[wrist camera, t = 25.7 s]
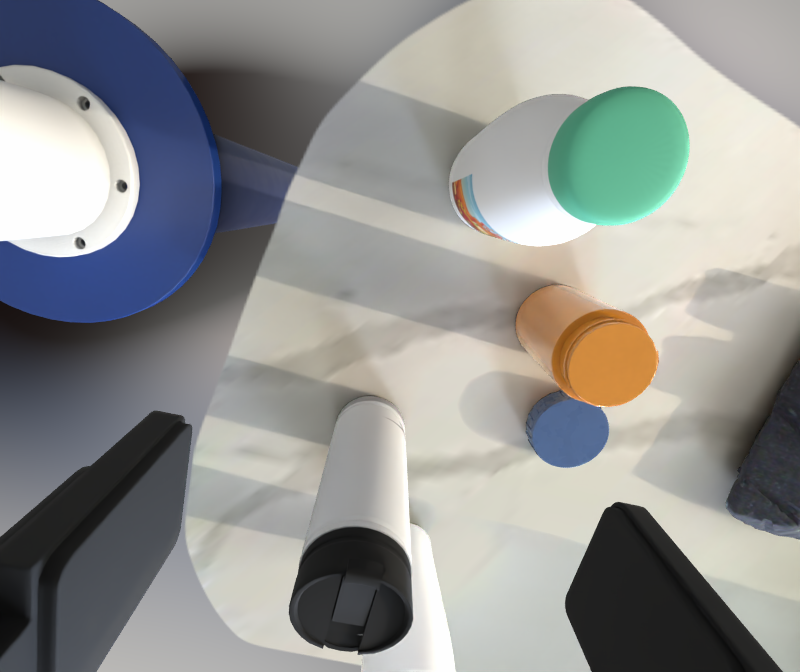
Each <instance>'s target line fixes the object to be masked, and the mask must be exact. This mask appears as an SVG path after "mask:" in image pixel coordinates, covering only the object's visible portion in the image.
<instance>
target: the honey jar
mask: <svg viewBox="0 0 800 672" xmlns="http://www.w3.org/2000/svg"><path fill="white" fill-rule="evenodd" d="M515 326H516V334H517V337H518V340H519V342H520V344H521V345H522V346H523V348H524V349H525V350H526V351H527V352H528V353H529V354H530V355H531V356H532V358H533V359H534V360H535V361H536V362H537V363H538V364H539V365H540V366H541V367H542V369H543V370H544V371H545V372H546V373H547V374H548V375H549V376H550V377H551V378H552V380H553V381H554V382H555V383H556V384H557V385H558V386H559V387H560V388H561V389H562V390H563V392H565V393H566V394H567V395H568V396H570V397H572V398H574V399H576V400H579V401H582V402H585V403H587V404H591V405H594V406H599V407H611V406H617V405H621V404H624V403H627V402H629V401H631V400H633V399H634V398H636V397H637V396H638V395H640V394H641V393H642V392H643V391H644V390H645V389H646V388H647V386H648V385H650V383H651V381H652V379H653V377H654V375H655V374H656V370H657V366H658V363H659V358H658V351H656V347H655V345H654V342H653V341H652V339H651V338H650V336H649V335H648V333H647V331H646V329H645V327H644V326H643V325H642V324H641V322H640V321H639V320H637V319H636V318H635V317H634V316H632V315H630V314H628V313H626V312H624V311H622V310H620V309H618V308H616V307H613V306H611V305H609V304H607V303H605V302H603V301H600V300H598V299H596V298H594V297H592V296H590V295H588V294H585V293H583V292H581V291H579V290H577V289H575V288H572V287H570V286H566V285H550V286H546V287H543V288H541V289H539V290H537V291H535V292H534V293H532V294H531V295H530V296H529V297H528V298H527V299H526V300H525V301H524V302H523V304H522V305H521V307H520V309H519V311H518V314H517V317H516V325H515Z"/></svg>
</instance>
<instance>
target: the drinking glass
mask: <svg viewBox="0 0 800 672" xmlns="http://www.w3.org/2000/svg"><path fill="white" fill-rule="evenodd" d="M410 540H411V560H412V578H411V580H412V600H413V622H412V626H411V628H410V630H409V632H408V634H407V635H406V636H405V637H404V638H403V639H402V640H401V641H400V642H399V643H397V644H396V645H394V646H393V647H391V648H389V649H387V650H384V651H381V652H378V653H375V654H363V655H362V670H361V672H455V664H454V657H453V650H452V644H451V638H450V633H449V628H448V624H447V619H446V615H445V610H444V606H443V602H442V597H441V593H440V588H439V584H438V579H437V575H436V570H435V565H434V561H433V556H432V547H431V541H430V538H429V536H428V534H427V533H426V532H425V531H424V530H423V529H422V528H421V527H419V526H417V525H415V524H412V523H410Z"/></svg>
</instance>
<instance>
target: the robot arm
mask: <svg viewBox="0 0 800 672" xmlns="http://www.w3.org/2000/svg"><path fill="white" fill-rule="evenodd" d="M89 104H90V107H89ZM126 183H127V187H128V188H126V186H125V185H126ZM139 187H140V181H139V168H138V163H137V160H136V156H135V152H134V148H133V146H132V144H131V142H130V139H129V137H128V135H127V133H126V131H125V129H124V128H123V126H122V125H121V123H120V121H119V120H118V118H117V117H116V115H115V114H114V113H113V112H112V111H111V110H110V109H109V107H108V106H107V105H106V104H105V103H104V102H103V101H102V100H101V99H100V98H99V97H98V96H96V95H95V94H94V93H93V92H91V91H90V90H89V89H88V88H86V87H85V86H83V85H81V84H79V83H78V82H76V81H74V80H72V79H71V78H69V77H66V76H63V75H61V74H59V73H56V72H54V71H51V70H47V69H43V68H39V67H36V66H27V65H10V66H4V67H0V241H8V242H10V243H12V244H14V245H16V246H18V247H20V248H22V249H24V250H27V251H31V252H34V253H37V254H40V255H46V256H53V257H69V256H78V255H83V254H89V253H91V252H94V251H97V250H99V249H102V248H104V247H105V246H107V245H108V244H110V243H111V242H113V241H114V240H116V239H117V238H118V236H119V235H120V234H121V233H122V232H123V231H124V230H125V229H126V227H127V226H128V224H129V222H130V220H131V219H132V217H133V215H134V212H135V209H136V206H137V202H138V196H139ZM191 436H192V426H191V425H190V424H185V419H184V417H183V416H181V415H176V414H171V413H166V412H161V411H153V412H151V413H150V414H149V415H148V416H147V417H145V419H143V420H142V421H141V422H140V423H139V424H138V425H137V426H135V427H134V428H133V429H132V430H131V431H130V432H129V433H127V434H126V435H125V436H124V437H123V438H122V439H121V440H120V441H119V442H117V443H116V444H115V445H114V446H113V447H112V448H111V449H109V450H108V451H107V452H106V453H105V454H104V455H103V456H101V458H99V459H98V460H97V461H96V462H95V463H94V464H92V465H91V466H87V467H83V468H81V469H80V470H78V471H77V472H75V473H74V474H73V475H72V476H71V477H69V478H68V479H67V480H66V481H65V482H64V483H62V485H60V486H59V487H58V488H57V489H55V490H54V491H53V492H52V493H51V494H50V495H49V496H47V497H46V498H45V499H44V500H43V501H42V502H40V503H39V504H38V505H37V506H36V507H35V508H34V509H33V510H31V511H30V512H29V513H28V514H27V515H25V516H24V517H23V518H22V519H21V520H20V521H18V522H17V523H16V524H15V525H14V526H13V527H11V528H10V529H9V530H8V531H7V532H6V533H5V534H4V535H2V536H1V537H0V672H97V670H98V668H99V667H100V665H101V664H102V662H103V660H104V659H105V657H106V655H107V654H108V652H109V651H110V649H111V647H112V646H113V644H114V642H115V641H116V639H117V638H118V636H119V635H120V633H121V631H122V630H123V628H124V626H125V625H126V623H127V622H128V620H129V618H130V617H131V615H132V614H133V612H134V610H135V609H136V607H137V606H138V604H139V602H140V601H141V599H142V598H143V596H144V594H145V593H146V591H147V589H148V588H149V586H150V585H151V583H152V581H153V580H154V578H155V577H156V575H157V573H158V572H159V570H160V569H161V567H162V565H163V564H164V562H165V560H166V559H167V557H168V556H169V554H170V552H171V550H172V549H173V547H174V546H175V544H176V541H177V539H178V536H179V532H180V528H181V520H182V512H183V504H184V495H185V487H186V478H187V470H188V462H189V453H190V445H191ZM565 608H566V613H567V616H568V618H569V620H570V623H571V625H572V627H573V630H574V632H575V634H576V637H577V639H578V641H579V643H580V646H581V648H582V650H583V653H584V655H585V657H586V660H587V662H588V664H589V666H590V669H591V671H592V672H783V671H782V670H781V669H780V668H779V667H778V665H777V664H776V663H775V662H774V661H773V660H772V658H771V657H770V656H769V655H768V654H767V652H766V651H765V650H764V649H763V648H762V646H761V645H760V644H759V643H758V642H757V640H756V639H755V638H754V637H753V636H752V635H751V633H750V632H749V631H748V630H747V629H746V627H745V626H744V625H743V624H742V623H741V621H740V620H739V619H738V618H737V617H736V615H735V614H734V613H733V612H732V611H731V610H730V608H729V607H728V606H727V605H726V604H725V602H724V601H723V600H722V599H721V598H720V596H719V595H718V594H717V593H716V592H715V591H714V589H713V588H712V587H711V586H710V585H709V583H708V582H707V581H706V580H705V579H704V577H703V576H702V575H701V574H700V573H699V571H698V570H697V569H696V568H695V567H694V566H693V564H692V563H691V562H690V561H689V560H688V558H687V557H686V556H685V555H684V554H683V552H682V551H681V550H680V549H679V548H678V546H677V545H676V544H675V543H674V542H673V541H672V539H671V538H670V537H669V536H668V535H667V533H666V532H665V531H664V530H663V529H662V527H661V526H660V525H659V524H658V523H657V521H656V520H655V519H654V518H653V517H652V516H651V514H650V513H649V512H648V511H647V510H646V509H645V508H644V507H641V506H636V505H631V504H626V503H621V502H616V503H614V504H613V505H612V506H611V507H607V508H606V509H605V510H604V512H603V514H602V517H601V519H600V521H599V523H598V525H597V528H596V530H595V532H594V534H593V537H592V539H591V541H590V543H589V546H588V548H587V550H586V552H585V555H584V557H583V559H582V561H581V564H580V566H579V568H578V570H577V573H576V575H575V577H574V579H573V582H572V584H571V586H570V588H569V591H568V593H567V595H566V600H565Z"/></svg>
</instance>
